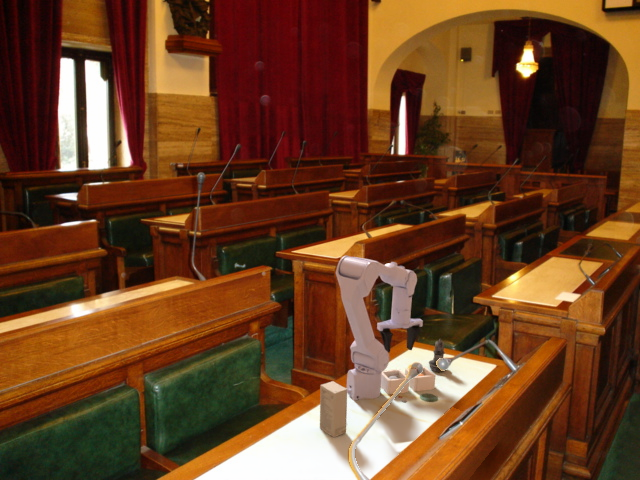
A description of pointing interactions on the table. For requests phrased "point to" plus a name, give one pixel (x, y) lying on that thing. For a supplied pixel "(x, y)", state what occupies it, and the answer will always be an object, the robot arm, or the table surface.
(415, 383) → the beige open box
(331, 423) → the skincare box
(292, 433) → the table surface
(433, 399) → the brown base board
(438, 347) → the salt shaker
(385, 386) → the open square box
